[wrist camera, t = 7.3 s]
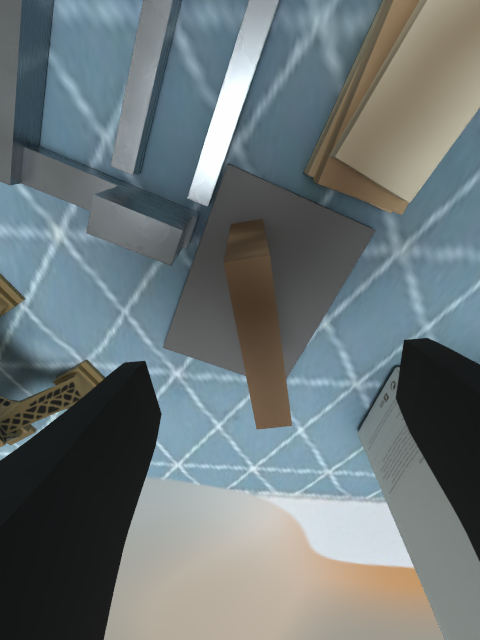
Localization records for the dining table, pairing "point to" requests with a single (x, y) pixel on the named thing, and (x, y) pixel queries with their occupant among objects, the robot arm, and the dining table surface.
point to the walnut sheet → (257, 322)
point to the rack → (134, 126)
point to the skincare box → (424, 518)
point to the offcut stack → (402, 102)
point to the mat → (287, 268)
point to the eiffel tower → (16, 416)
